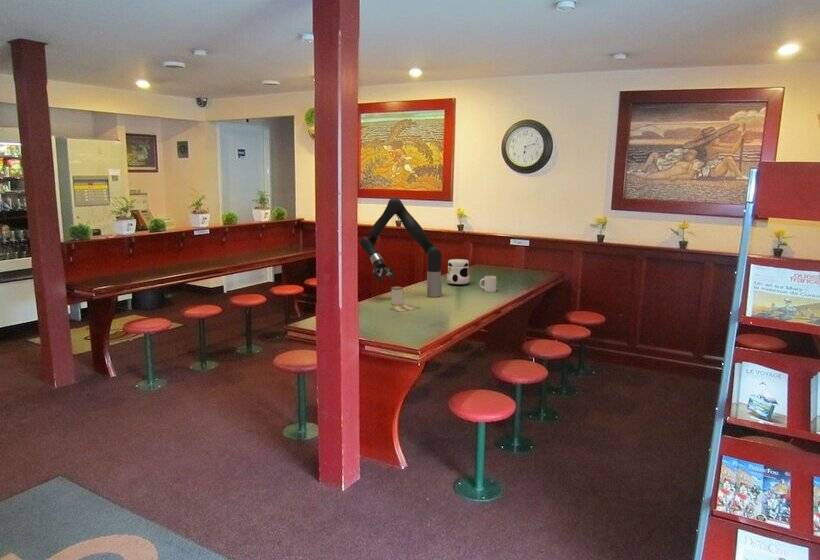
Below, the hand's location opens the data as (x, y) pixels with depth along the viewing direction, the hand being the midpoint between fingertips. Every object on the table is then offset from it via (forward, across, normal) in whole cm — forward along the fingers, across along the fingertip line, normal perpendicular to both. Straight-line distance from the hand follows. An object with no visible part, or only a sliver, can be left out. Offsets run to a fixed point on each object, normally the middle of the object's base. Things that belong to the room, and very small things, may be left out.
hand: (388, 281), depth 374 cm
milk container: (0, +75, +19) cm, 77 cm away
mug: (+22, +74, -3) cm, 77 cm away
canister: (+16, 0, +3) cm, 16 cm away
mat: (+25, -4, -6) cm, 26 cm away
